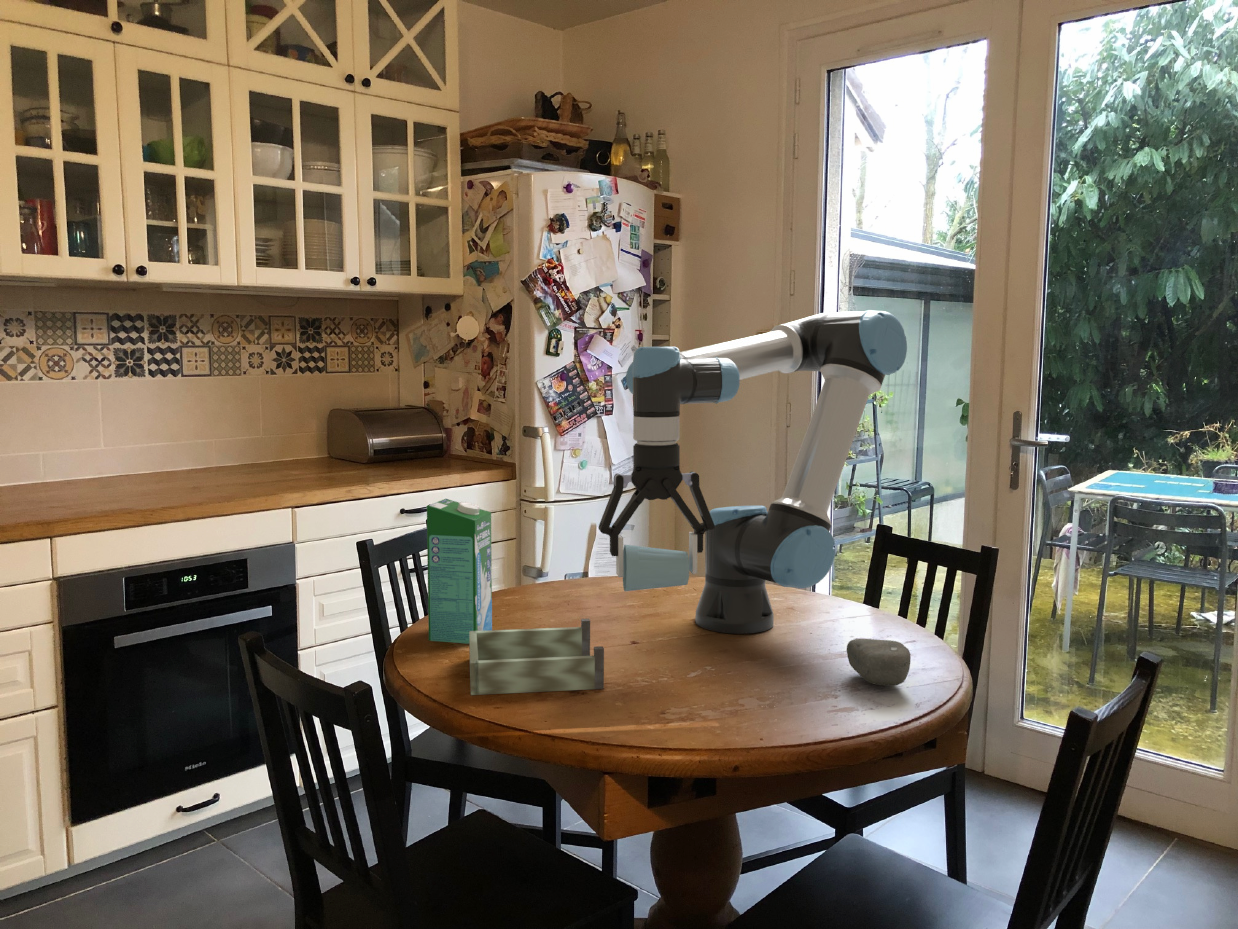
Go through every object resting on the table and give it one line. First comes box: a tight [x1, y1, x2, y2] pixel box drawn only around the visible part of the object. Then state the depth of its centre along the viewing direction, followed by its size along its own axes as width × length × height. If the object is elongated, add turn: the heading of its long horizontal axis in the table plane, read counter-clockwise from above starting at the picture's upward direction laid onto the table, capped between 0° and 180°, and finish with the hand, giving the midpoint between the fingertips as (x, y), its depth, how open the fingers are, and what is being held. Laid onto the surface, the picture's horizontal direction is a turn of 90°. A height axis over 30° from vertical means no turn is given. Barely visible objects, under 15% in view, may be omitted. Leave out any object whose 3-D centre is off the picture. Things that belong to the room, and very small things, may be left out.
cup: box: [622, 544, 690, 592], centre depth 160 cm, size 8×8×10 cm
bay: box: [468, 618, 605, 696], centre depth 158 cm, size 20×18×6 cm
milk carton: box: [426, 498, 493, 645], centre depth 178 cm, size 9×9×25 cm
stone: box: [846, 638, 911, 687], centre depth 156 cm, size 9×9×10 cm
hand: (656, 573), depth 160 cm, fingers closed on cup, 12 cm apart
